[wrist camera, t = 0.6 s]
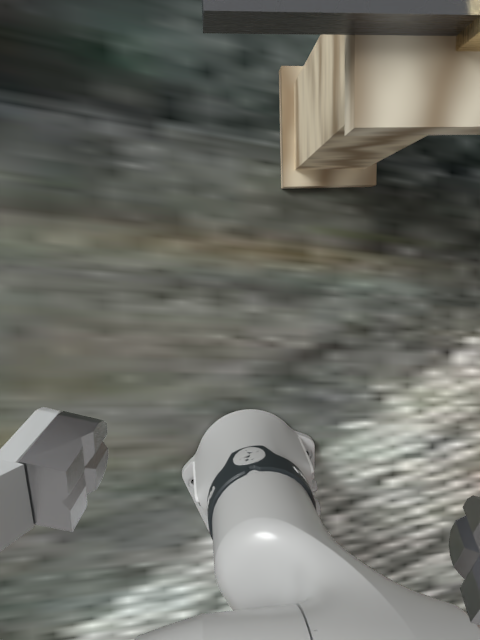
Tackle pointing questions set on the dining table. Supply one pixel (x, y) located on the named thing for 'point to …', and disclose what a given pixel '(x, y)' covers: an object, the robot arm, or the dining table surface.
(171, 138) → the dining table surface
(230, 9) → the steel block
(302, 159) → the shelf stand
